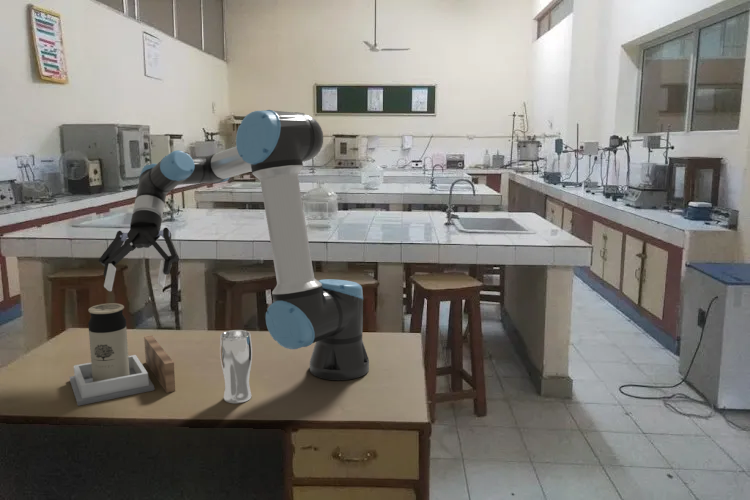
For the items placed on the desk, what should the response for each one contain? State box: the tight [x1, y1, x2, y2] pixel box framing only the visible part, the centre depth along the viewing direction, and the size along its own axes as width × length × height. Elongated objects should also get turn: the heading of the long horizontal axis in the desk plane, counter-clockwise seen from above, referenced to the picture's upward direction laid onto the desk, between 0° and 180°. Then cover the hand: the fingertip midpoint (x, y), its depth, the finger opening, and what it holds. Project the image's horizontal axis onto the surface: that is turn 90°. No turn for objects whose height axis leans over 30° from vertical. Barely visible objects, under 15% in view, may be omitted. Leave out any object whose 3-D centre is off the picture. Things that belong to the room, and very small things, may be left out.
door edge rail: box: [143, 335, 176, 394], centre depth 144 cm, size 22×2×7 cm, turn 33°
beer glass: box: [219, 329, 253, 405], centre depth 132 cm, size 7×7×15 cm
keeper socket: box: [69, 354, 155, 407], centre depth 139 cm, size 16×16×4 cm
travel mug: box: [87, 302, 130, 382], centre depth 137 cm, size 8×8×18 cm
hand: (134, 287), depth 148 cm, fingers open, 13 cm apart
